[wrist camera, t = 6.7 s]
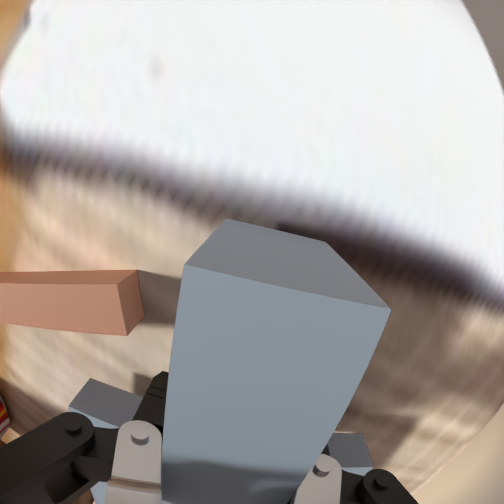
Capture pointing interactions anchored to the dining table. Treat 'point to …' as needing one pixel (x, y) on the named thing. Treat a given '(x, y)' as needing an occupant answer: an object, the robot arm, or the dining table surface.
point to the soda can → (3, 418)
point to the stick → (72, 300)
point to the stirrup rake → (256, 369)
